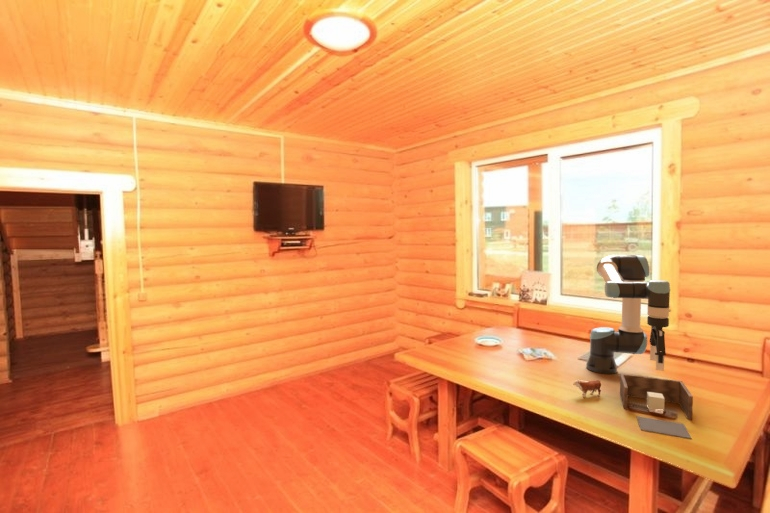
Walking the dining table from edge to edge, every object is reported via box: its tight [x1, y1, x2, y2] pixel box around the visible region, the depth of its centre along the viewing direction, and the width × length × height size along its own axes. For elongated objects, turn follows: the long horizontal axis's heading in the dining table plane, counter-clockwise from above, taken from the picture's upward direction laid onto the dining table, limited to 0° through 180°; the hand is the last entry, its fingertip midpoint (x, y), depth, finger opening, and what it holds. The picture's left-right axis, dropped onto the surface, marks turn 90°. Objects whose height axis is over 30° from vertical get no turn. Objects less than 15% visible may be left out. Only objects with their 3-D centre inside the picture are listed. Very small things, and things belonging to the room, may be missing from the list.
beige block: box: [646, 392, 666, 411], centre depth 169 cm, size 6×6×7 cm
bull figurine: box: [572, 379, 602, 399], centre depth 185 cm, size 4×13×8 cm, turn 95°
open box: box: [619, 373, 694, 421], centre depth 173 cm, size 24×18×10 cm
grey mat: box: [636, 415, 692, 440], centre depth 155 cm, size 16×12×1 cm
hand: (656, 365), depth 168 cm, fingers open, 13 cm apart
